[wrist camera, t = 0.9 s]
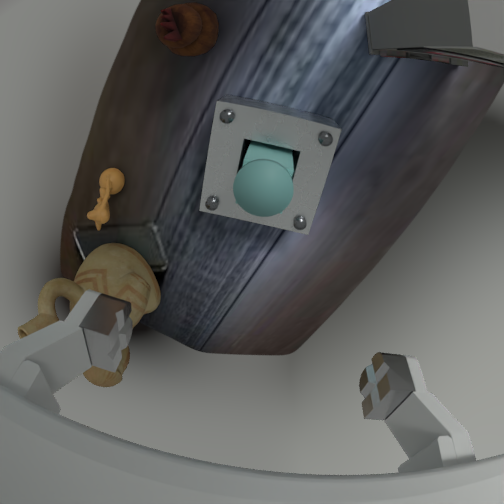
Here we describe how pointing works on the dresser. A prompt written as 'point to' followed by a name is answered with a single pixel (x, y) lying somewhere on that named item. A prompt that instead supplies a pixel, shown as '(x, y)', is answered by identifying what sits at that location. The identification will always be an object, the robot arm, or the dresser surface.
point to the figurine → (106, 195)
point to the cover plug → (265, 180)
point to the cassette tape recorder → (439, 31)
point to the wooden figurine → (188, 28)
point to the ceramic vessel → (107, 282)
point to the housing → (275, 133)
